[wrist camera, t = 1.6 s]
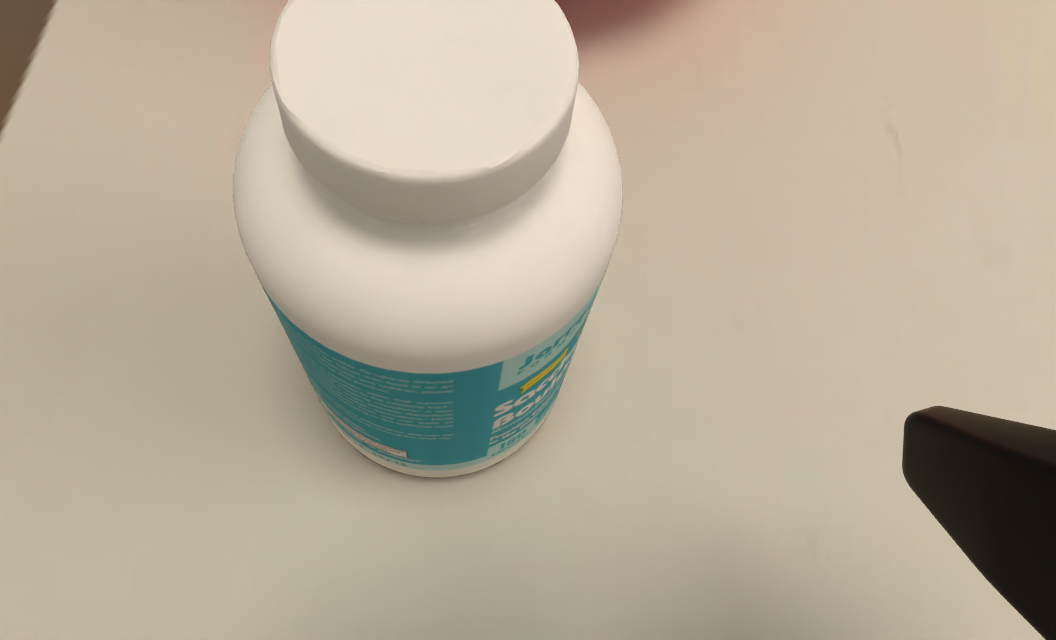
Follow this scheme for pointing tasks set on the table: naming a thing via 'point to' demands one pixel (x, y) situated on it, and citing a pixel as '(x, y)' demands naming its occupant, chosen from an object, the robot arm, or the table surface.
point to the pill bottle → (429, 218)
